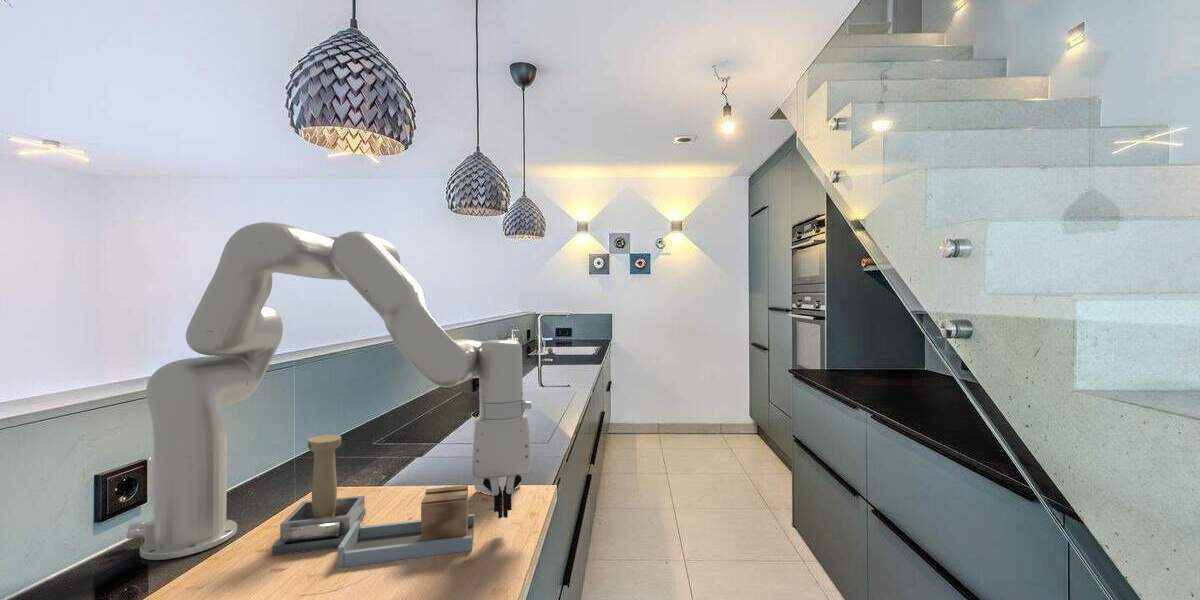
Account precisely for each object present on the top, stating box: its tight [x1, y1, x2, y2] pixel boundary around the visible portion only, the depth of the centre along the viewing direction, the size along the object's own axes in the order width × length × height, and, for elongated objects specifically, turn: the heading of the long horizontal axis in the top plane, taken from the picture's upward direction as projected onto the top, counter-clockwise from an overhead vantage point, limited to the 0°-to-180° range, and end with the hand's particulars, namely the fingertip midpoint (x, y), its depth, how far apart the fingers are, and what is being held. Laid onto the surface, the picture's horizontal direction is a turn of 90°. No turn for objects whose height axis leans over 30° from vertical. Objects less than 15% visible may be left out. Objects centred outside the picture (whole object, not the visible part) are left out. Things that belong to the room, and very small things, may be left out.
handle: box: [307, 434, 342, 519], centre depth 84 cm, size 5×6×15 cm
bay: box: [337, 513, 475, 568], centre depth 78 cm, size 20×9×3 cm, turn 103°
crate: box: [420, 484, 469, 542], centre depth 79 cm, size 7×7×7 cm
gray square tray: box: [271, 495, 367, 557], centre depth 82 cm, size 11×12×4 cm
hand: (502, 514), depth 81 cm, fingers closed
